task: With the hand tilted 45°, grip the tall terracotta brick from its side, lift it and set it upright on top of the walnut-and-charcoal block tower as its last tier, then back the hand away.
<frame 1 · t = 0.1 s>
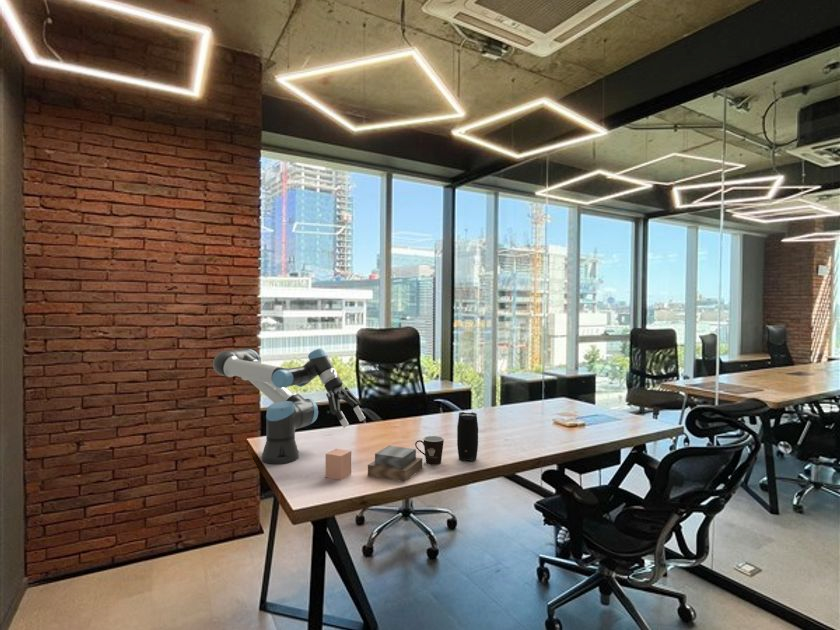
hand: (354, 423, 193), 15 cm above the table, tool tilted 35°, fingers open, 13 cm apart
portable speaker: (467, 459, 194), on the table
coffee mug: (430, 462, 190), on the table
terracotta brick: (338, 475, 173), on the table
block tower: (395, 471, 178), on the table
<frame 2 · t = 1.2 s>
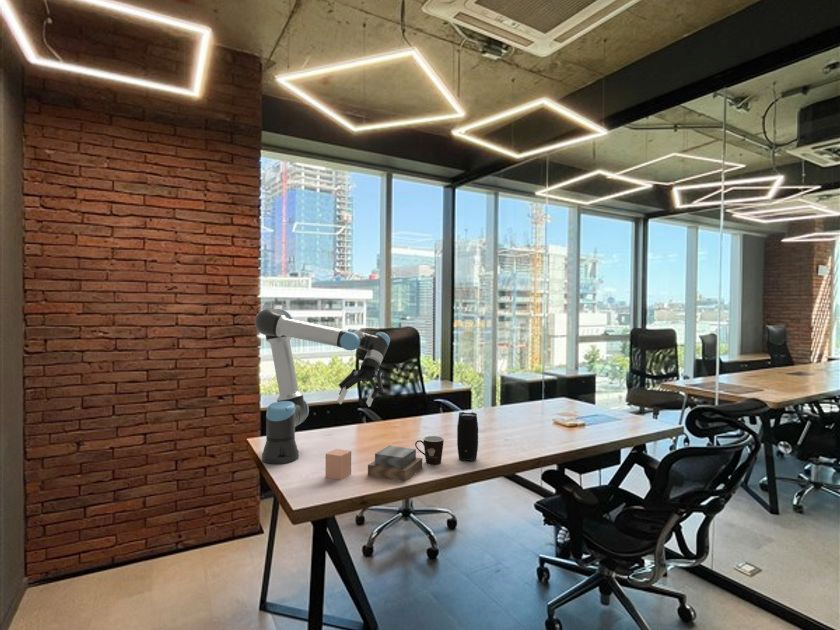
hand: (353, 403, 182), 26 cm above the table, tool tilted 45°, fingers open, 13 cm apart
nothing on the table moved.
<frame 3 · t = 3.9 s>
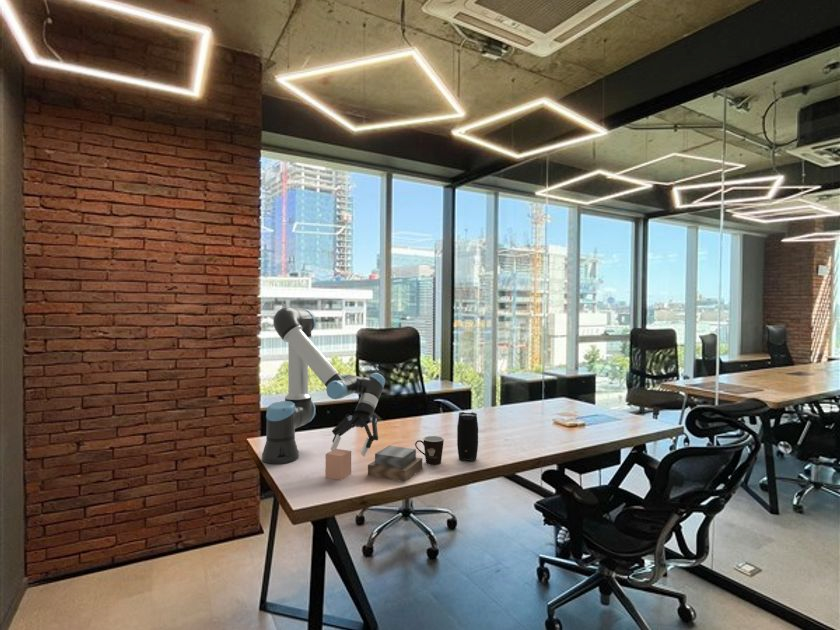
hand: (347, 452, 175), 8 cm above the table, tool tilted 45°, fingers open, 13 cm apart
nothing on the table moved.
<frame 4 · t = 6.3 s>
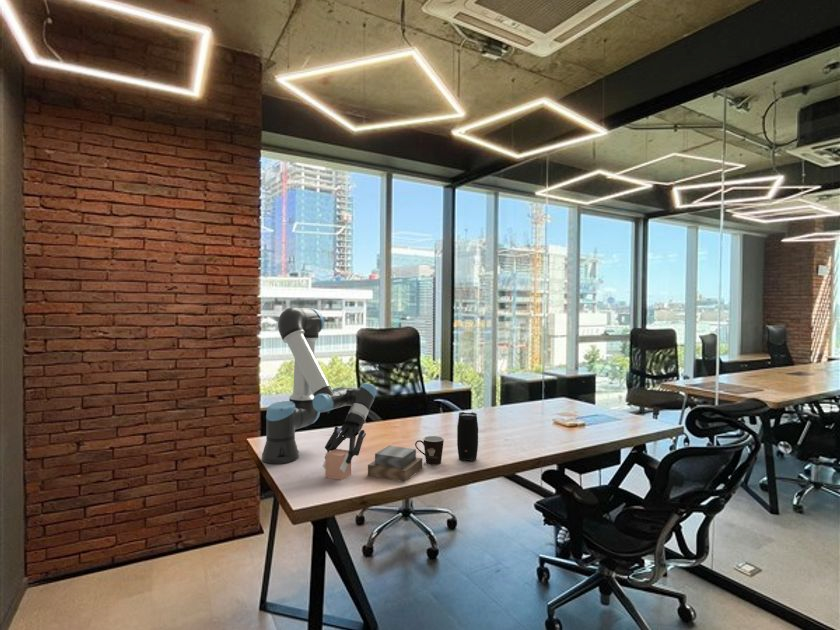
hand: (333, 469, 170), 4 cm above the table, tool tilted 45°, fingers closed on terracotta brick, 7 cm apart
terracotta brick: (338, 475, 173), on the table, touching gripper
everything else where it was.
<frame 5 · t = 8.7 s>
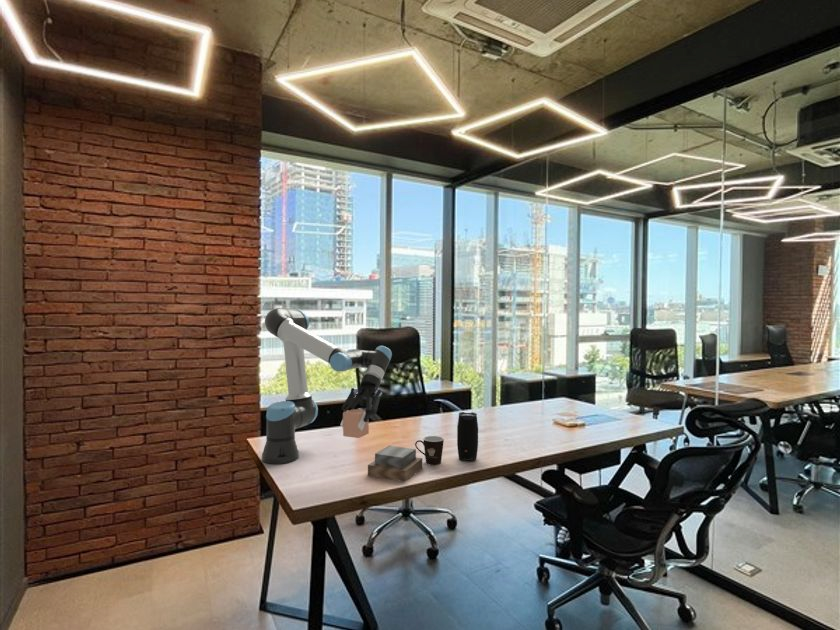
hand: (351, 427, 170), 19 cm above the table, tool tilted 45°, fingers closed on terracotta brick, 7 cm apart
terracotta brick: (356, 434, 173), point 16 cm above the table, touching gripper
everything else where it was.
when the fingers open (13 cm above the table, at t = 11.4 s): terracotta brick drops 1 cm, resting on block tower.
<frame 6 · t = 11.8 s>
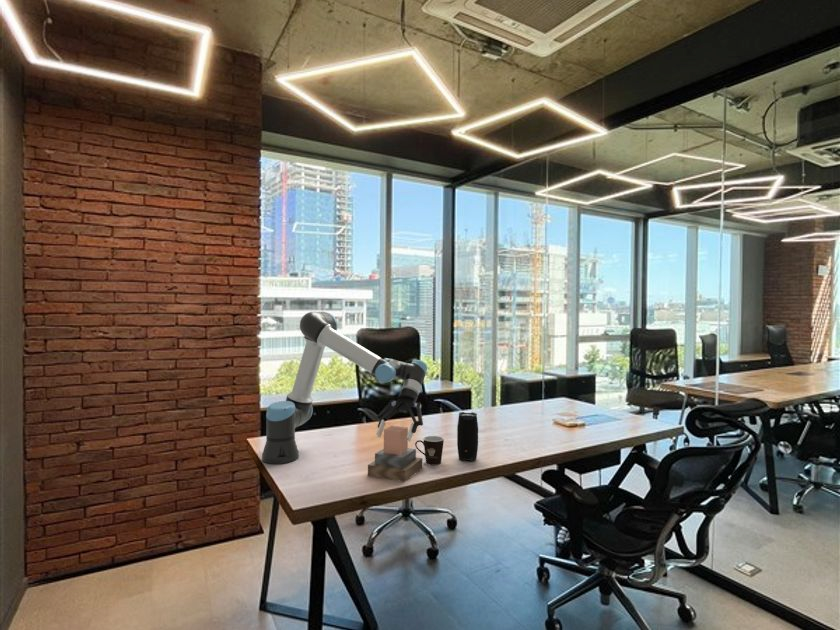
hand: (393, 437, 175), 14 cm above the table, tool tilted 45°, fingers open, 12 cm apart
terracotta brick: (395, 451, 178), point 8 cm above the table, touching block tower
everything else where it was.
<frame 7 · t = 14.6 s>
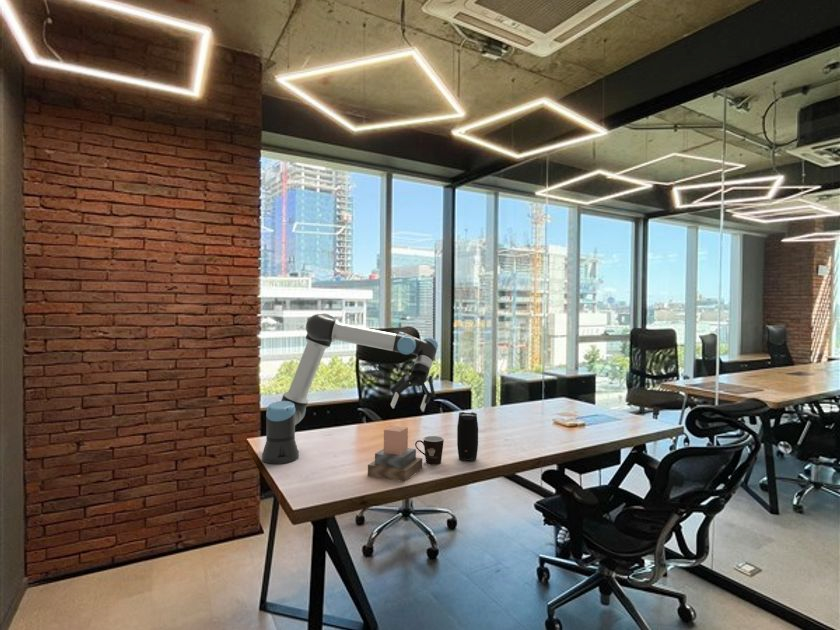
hand: (406, 408, 186), 23 cm above the table, tool tilted 45°, fingers open, 13 cm apart
nothing on the table moved.
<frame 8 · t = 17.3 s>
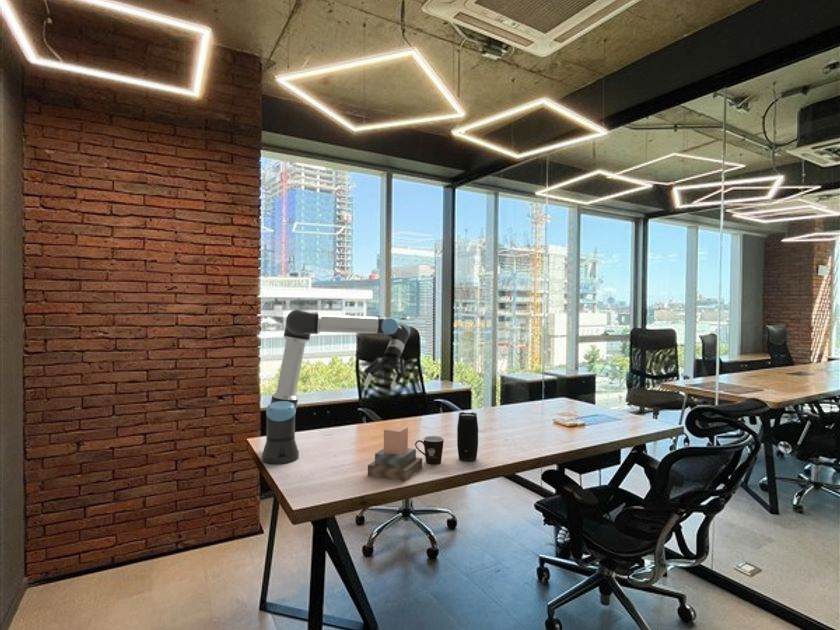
hand: (378, 387, 200), 30 cm above the table, tool tilted 45°, fingers open, 13 cm apart
nothing on the table moved.
at the end: terracotta brick inside the target area on the block tower (0.0 cm from its centre), point 8.0 cm above the block tower's base; terracotta brick tilted 0°; the gripper is holding nothing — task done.
